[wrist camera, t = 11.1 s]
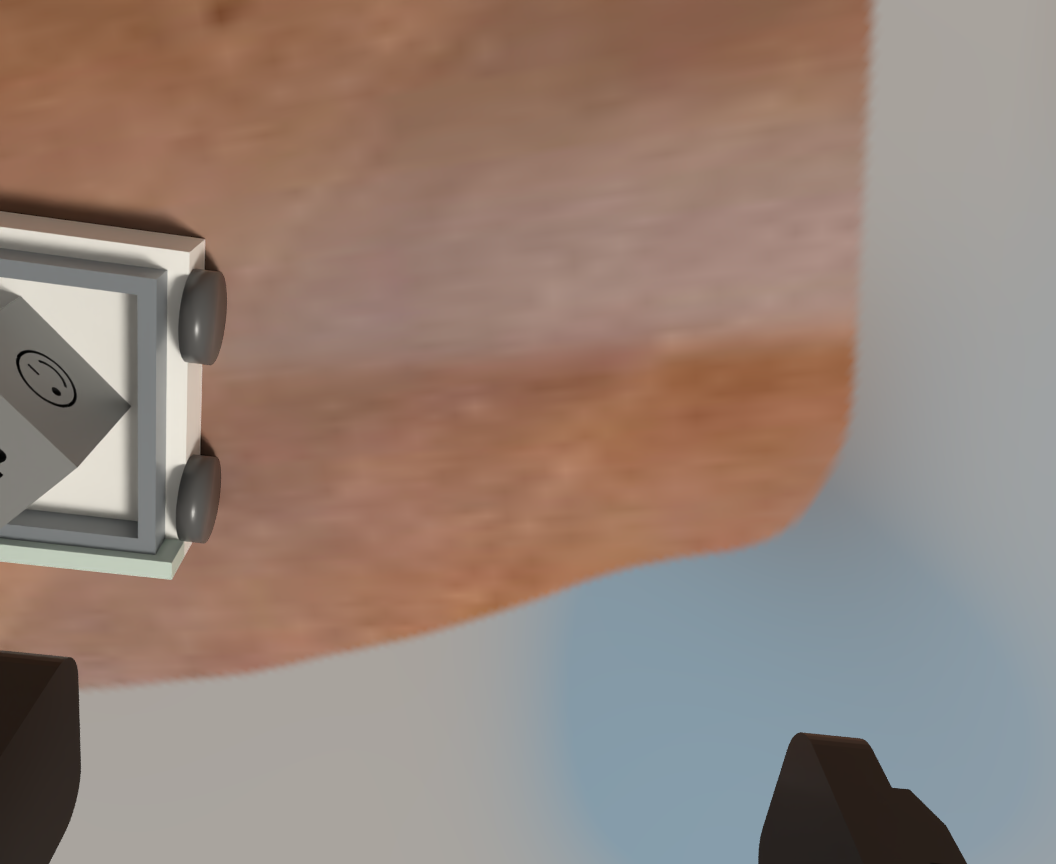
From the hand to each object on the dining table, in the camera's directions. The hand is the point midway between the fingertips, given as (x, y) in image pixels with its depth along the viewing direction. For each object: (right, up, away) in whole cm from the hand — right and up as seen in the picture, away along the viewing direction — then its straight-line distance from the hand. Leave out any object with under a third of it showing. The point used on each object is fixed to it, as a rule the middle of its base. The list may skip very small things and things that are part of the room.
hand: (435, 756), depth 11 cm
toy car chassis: (-17, +6, +25) cm, 31 cm away
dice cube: (-16, +5, +24) cm, 29 cm away
